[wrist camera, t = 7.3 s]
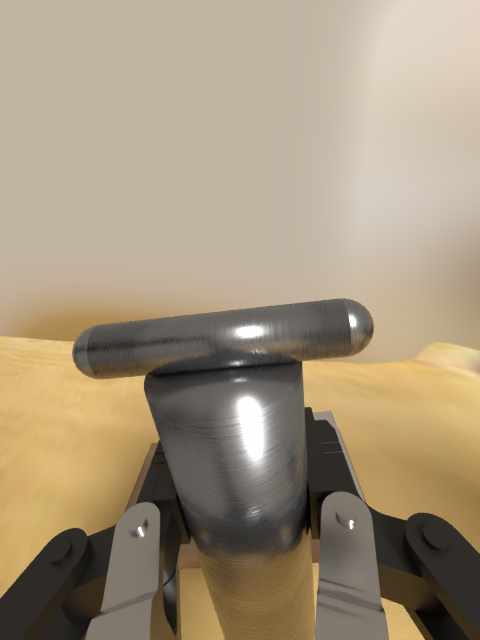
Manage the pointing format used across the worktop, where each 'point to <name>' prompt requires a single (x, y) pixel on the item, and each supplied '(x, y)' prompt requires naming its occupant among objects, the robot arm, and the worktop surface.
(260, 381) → the chuck key
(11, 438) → the worktop surface
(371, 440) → the worktop surface
